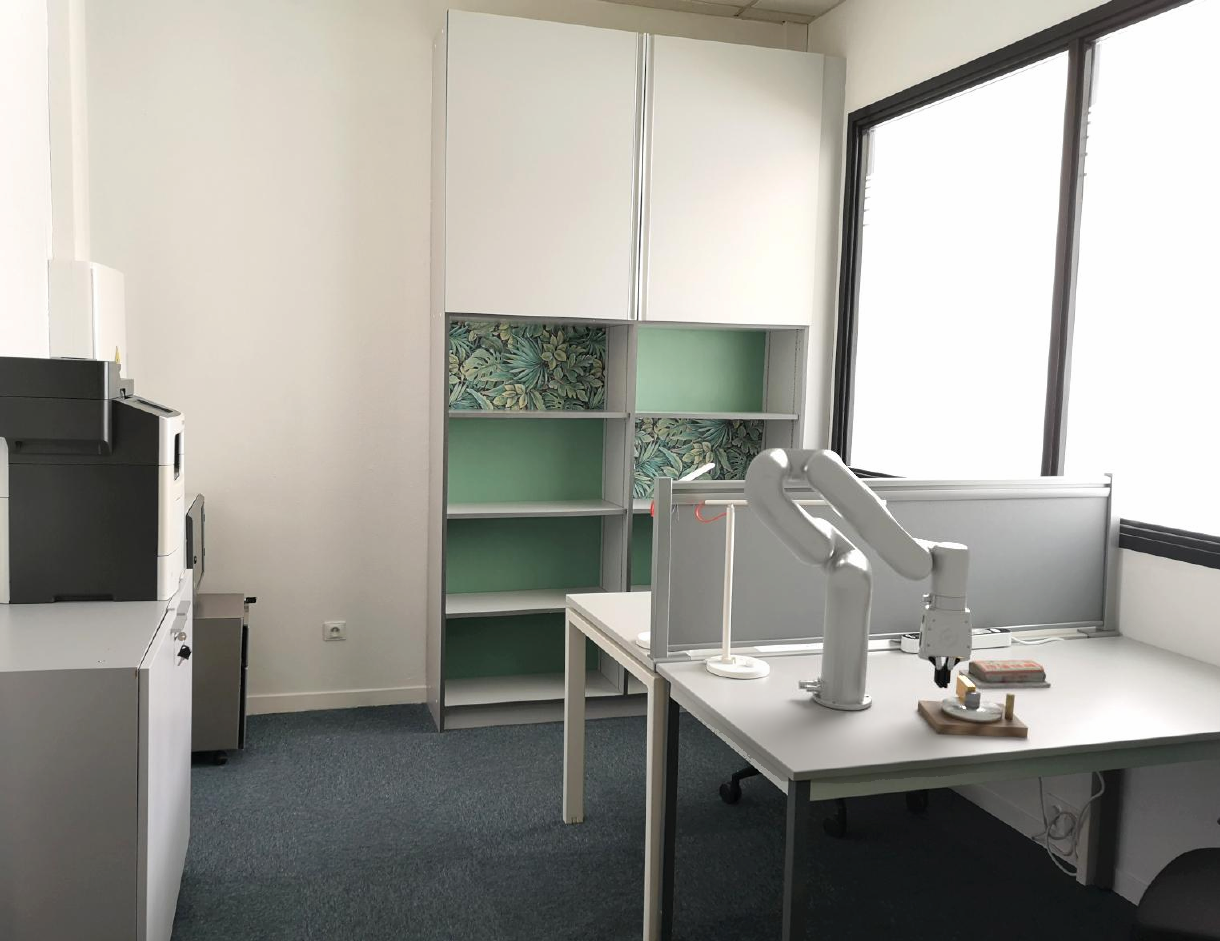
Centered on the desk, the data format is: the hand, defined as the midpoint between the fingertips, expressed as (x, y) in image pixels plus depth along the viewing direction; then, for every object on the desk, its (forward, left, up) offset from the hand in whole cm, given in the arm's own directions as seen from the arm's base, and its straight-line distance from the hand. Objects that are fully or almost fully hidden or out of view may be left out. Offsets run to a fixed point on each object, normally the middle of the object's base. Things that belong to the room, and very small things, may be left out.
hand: (941, 686), depth 221 cm
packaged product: (+22, +24, -6) cm, 33 cm away
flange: (+5, -5, -3) cm, 8 cm away
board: (+5, -6, -6) cm, 9 cm away
